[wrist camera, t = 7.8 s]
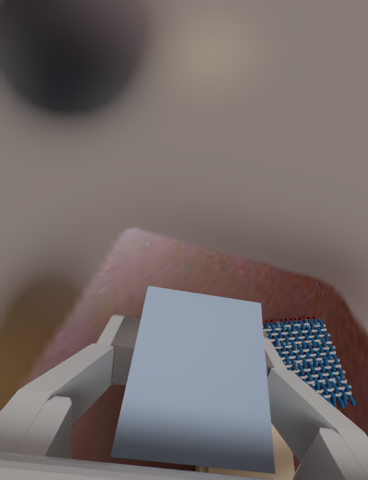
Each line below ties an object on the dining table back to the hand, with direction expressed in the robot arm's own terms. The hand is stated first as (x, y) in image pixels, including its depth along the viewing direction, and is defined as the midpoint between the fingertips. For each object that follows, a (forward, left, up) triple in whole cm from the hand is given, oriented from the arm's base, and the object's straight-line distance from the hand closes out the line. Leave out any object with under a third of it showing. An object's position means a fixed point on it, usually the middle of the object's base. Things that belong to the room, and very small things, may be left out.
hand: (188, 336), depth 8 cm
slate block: (-1, 0, -6) cm, 6 cm away
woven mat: (0, -19, -19) cm, 27 cm away
